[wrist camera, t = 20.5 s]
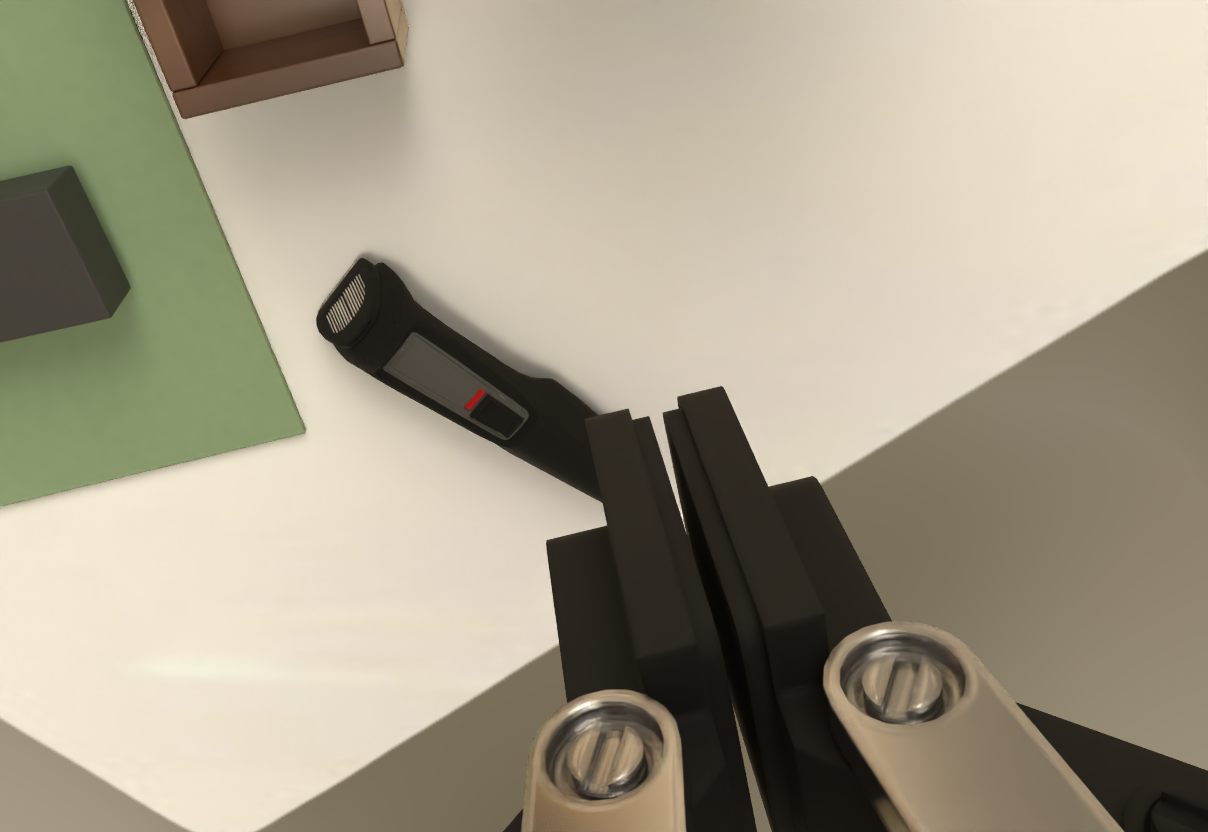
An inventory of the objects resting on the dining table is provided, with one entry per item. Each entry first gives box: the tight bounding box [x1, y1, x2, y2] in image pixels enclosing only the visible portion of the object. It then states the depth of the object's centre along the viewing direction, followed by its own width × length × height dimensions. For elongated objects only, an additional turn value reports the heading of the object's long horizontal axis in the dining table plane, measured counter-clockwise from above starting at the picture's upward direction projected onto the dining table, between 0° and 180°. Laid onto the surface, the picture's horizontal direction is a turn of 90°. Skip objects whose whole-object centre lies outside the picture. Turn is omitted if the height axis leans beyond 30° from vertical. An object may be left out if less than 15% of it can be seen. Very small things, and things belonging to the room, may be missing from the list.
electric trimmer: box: [316, 257, 602, 502], centre depth 42 cm, size 4×16×3 cm, turn 49°
